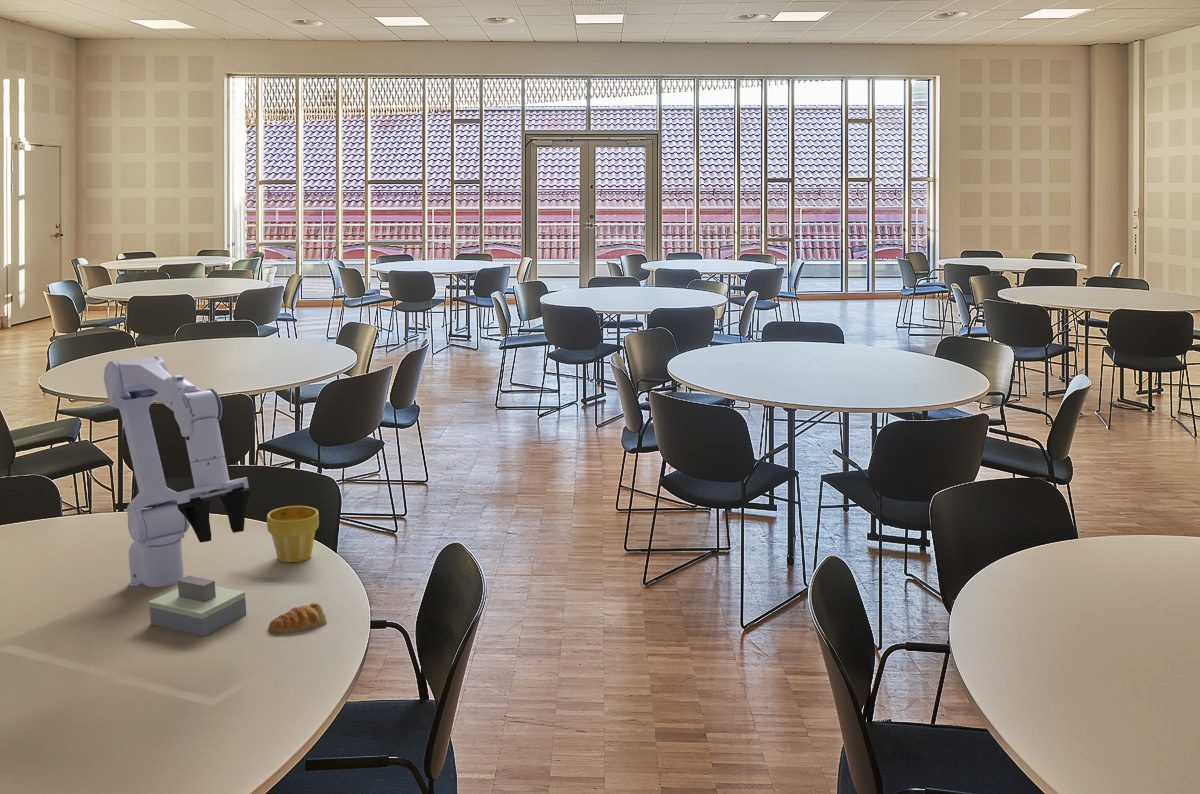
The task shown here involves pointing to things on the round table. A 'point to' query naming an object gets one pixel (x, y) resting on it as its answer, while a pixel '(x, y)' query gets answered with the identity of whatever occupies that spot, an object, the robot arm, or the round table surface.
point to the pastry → (299, 619)
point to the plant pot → (293, 531)
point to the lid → (196, 598)
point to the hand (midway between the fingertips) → (222, 536)
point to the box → (198, 619)
